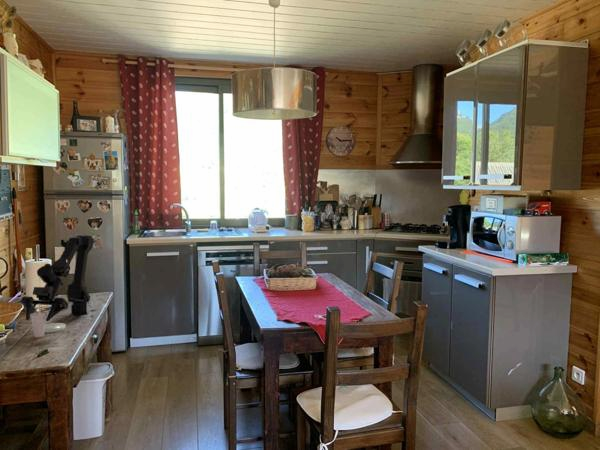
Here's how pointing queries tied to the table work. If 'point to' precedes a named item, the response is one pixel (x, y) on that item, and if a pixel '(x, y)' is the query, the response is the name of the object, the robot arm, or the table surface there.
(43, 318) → the smoothie
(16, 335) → the table surface
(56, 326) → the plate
